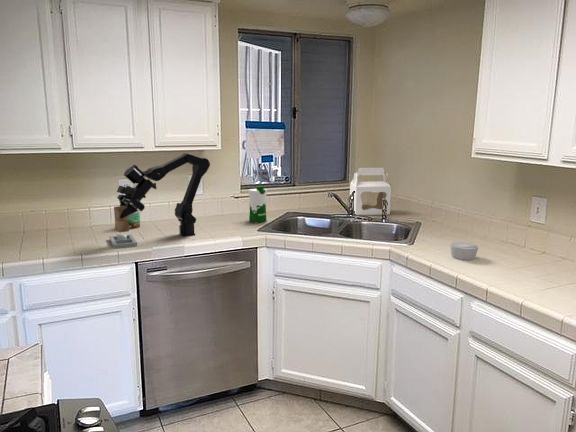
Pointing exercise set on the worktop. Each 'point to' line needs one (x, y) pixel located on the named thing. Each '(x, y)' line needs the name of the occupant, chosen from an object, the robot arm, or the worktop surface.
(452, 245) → the ramekin
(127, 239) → the grey divided frame
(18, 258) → the worktop surface
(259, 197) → the milk carton
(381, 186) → the gable box
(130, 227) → the food container
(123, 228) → the walnut block
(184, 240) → the worktop surface
